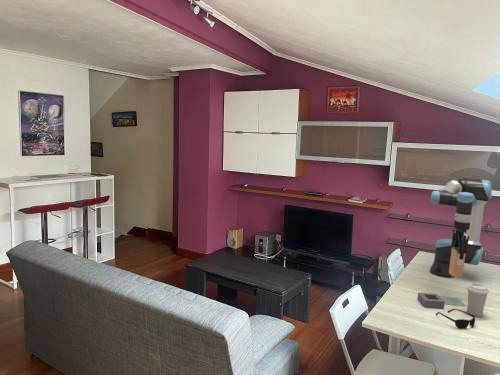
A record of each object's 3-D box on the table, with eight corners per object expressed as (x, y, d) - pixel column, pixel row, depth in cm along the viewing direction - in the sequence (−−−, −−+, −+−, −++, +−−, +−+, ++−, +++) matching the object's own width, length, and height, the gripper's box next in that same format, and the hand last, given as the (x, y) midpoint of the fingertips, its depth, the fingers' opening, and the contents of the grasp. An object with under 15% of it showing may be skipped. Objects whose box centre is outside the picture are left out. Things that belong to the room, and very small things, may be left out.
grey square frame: (417, 299, 207) (418, 292, 206) (436, 300, 206) (436, 293, 206) (424, 307, 197) (425, 300, 196) (443, 309, 196) (444, 301, 196)
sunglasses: (459, 331, 174) (460, 321, 174) (431, 315, 189) (432, 306, 188) (479, 326, 180) (480, 316, 179) (450, 311, 194) (451, 302, 193)
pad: (439, 296, 212) (439, 296, 212) (457, 297, 211) (457, 297, 211) (446, 304, 202) (446, 303, 202) (466, 305, 201) (466, 305, 201)
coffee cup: (482, 311, 195) (486, 284, 193) (487, 319, 186) (491, 291, 184) (462, 308, 198) (465, 281, 196) (466, 316, 189) (469, 287, 187)
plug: (448, 272, 207) (452, 246, 205) (458, 273, 206) (461, 247, 204) (452, 276, 202) (456, 249, 200) (462, 277, 202) (466, 250, 199)
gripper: (447, 217, 209) (442, 257, 212) (463, 224, 191) (457, 268, 195) (461, 218, 209) (456, 258, 212) (478, 225, 191) (472, 269, 194)
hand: (457, 262), depth 203 cm, fingers closed on plug, 5 cm apart
